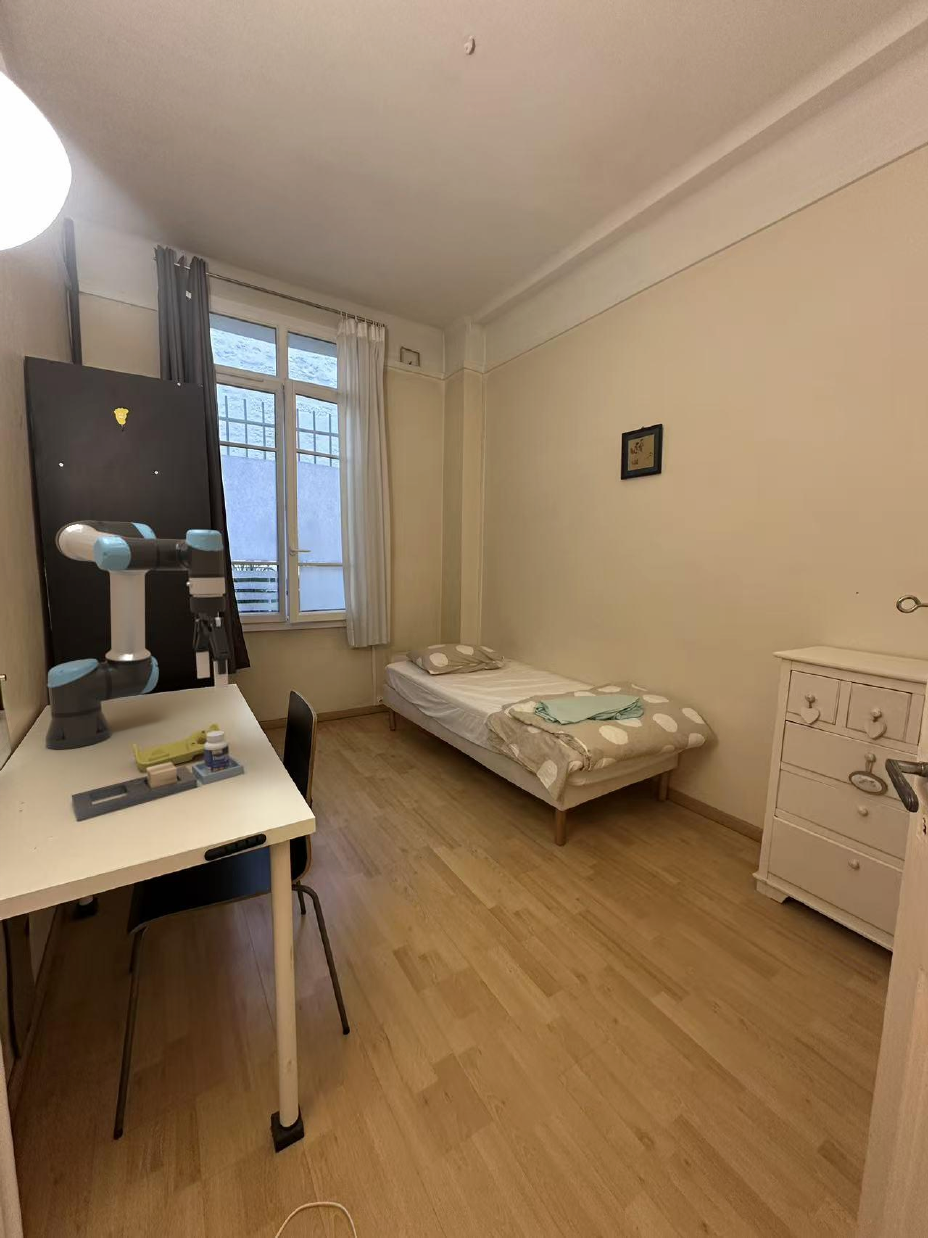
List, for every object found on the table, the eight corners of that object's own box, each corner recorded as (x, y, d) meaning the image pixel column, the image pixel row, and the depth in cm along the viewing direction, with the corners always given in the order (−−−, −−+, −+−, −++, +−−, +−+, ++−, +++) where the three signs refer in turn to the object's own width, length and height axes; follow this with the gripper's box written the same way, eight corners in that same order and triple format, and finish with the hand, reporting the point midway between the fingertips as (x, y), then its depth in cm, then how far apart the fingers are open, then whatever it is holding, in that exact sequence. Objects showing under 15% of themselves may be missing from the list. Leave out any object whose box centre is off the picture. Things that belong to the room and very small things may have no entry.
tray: (192, 772, 121) (191, 765, 121) (230, 762, 127) (230, 755, 127) (203, 784, 115) (203, 776, 114) (243, 773, 121) (243, 765, 121)
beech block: (147, 788, 113) (146, 767, 112) (172, 782, 116) (171, 762, 116) (152, 795, 109) (150, 774, 109) (177, 789, 113) (176, 768, 112)
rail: (72, 804, 105) (71, 795, 105) (185, 774, 120) (184, 766, 120) (77, 821, 98) (77, 812, 98) (197, 787, 113) (196, 779, 113)
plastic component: (138, 766, 120) (132, 739, 126) (141, 787, 123) (134, 760, 129) (225, 742, 132) (215, 719, 138) (225, 762, 135) (216, 738, 141)
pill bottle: (213, 777, 117) (211, 738, 116) (200, 772, 120) (198, 734, 119) (234, 769, 122) (232, 732, 121) (221, 764, 125) (219, 728, 124)
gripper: (175, 593, 123) (181, 676, 125) (206, 599, 105) (212, 695, 107) (208, 592, 128) (212, 671, 130) (242, 597, 110) (247, 689, 112)
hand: (212, 682), depth 119 cm, fingers open, 13 cm apart
